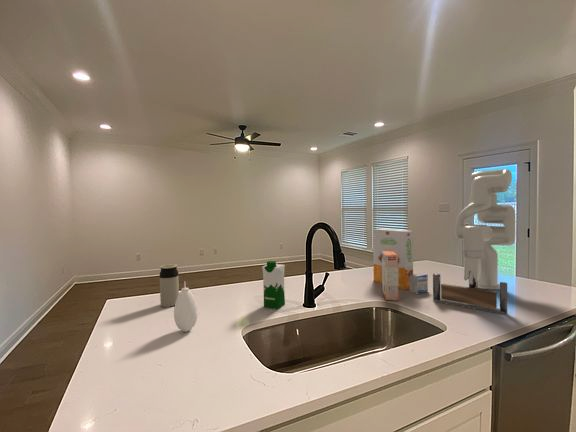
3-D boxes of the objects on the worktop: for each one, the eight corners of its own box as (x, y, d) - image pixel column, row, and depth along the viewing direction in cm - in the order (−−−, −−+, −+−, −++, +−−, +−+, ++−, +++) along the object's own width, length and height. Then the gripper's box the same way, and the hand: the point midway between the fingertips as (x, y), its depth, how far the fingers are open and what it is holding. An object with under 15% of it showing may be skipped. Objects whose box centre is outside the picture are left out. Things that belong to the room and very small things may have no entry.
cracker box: (399, 301, 133) (398, 255, 132) (385, 300, 134) (384, 255, 133) (394, 292, 147) (393, 250, 146) (381, 291, 148) (381, 250, 147)
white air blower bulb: (184, 337, 100) (182, 284, 100) (170, 332, 104) (168, 282, 104) (202, 328, 107) (200, 279, 106) (188, 324, 111) (186, 277, 111)
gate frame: (434, 299, 135) (434, 273, 134) (508, 312, 117) (507, 282, 116) (432, 301, 132) (432, 274, 132) (506, 314, 114) (506, 284, 113)
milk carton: (260, 307, 128) (259, 262, 128) (270, 301, 136) (269, 258, 136) (278, 310, 125) (277, 263, 124) (287, 303, 133) (286, 259, 132)
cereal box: (413, 288, 153) (412, 230, 152) (404, 289, 151) (404, 231, 150) (381, 279, 173) (381, 228, 173) (373, 280, 171) (373, 229, 170)
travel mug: (182, 304, 135) (181, 265, 135) (165, 308, 130) (164, 268, 129) (174, 300, 141) (173, 263, 140) (157, 305, 135) (156, 266, 135)
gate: (442, 298, 131) (442, 283, 131) (496, 307, 118) (496, 291, 118) (441, 299, 130) (440, 284, 130) (496, 308, 116) (496, 292, 116)
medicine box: (417, 294, 143) (417, 276, 143) (409, 291, 147) (409, 274, 147) (428, 291, 147) (428, 274, 146) (420, 289, 151) (420, 272, 150)
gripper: (467, 251, 136) (467, 291, 136) (459, 255, 125) (459, 298, 125) (486, 253, 131) (486, 294, 131) (480, 257, 120) (480, 301, 120)
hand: (473, 296), depth 128 cm, fingers closed
